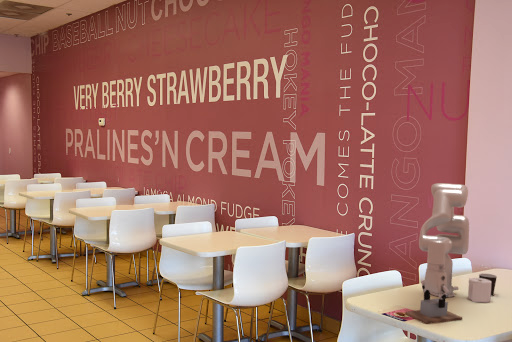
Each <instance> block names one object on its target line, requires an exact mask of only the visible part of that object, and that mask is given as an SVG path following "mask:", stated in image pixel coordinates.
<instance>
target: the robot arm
mask: <svg viewBox="0 0 512 342" xmlns="http://www.w3.org/2000/svg"><path fill="white" fill-rule="evenodd" d="M430 190H431V195H432V197H433V202H432V203H433V205H432V213H431V216H430V217H429V218H428V219H427V220H426V221H424V223H423V224H422V226H421V228H420V232H419V239H418V247H419V249H420V250H421V251H422V252H425V253H426V252H427V259H426V260H427V261H426V262H427V263H426V269H425V273H424V280H421V281H420V283H421V287H422V292H423V300H429V299H431V296H434V297H438V299H439V305H438V307H439V308H445V301H446V300H447V298H453V297H455V293H454V292H455V291H458V290H459V286H453V285H452V284H453V283H452V282H453V267H454V265H453V264H454V262H453V259H452V258H451V256H450V255H449V254H455V255H466V254H467V253H468V251H469V243H470V242H469V240H470V239H469V238H470V222H469V218H468V217H467V216H465V215H459V214H455V208H464V207H465V206H466V204H467V201H468V196H469V189H468V186H467V185H465V184H459V183H446V182H445V183H444V182H443V183H441V182H439V183H438V182H437V183H434V184H431V188H430ZM435 227H436V230H437V231H438V232H441V233H438V234H436V235H427V233H428V232H429V231H430V230H431V229H434V228H435ZM445 233H448V234H445ZM454 234H457V235H454Z"/></svg>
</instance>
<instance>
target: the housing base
mask: <svg viewBox="0 0 512 342" xmlns="http://www.w3.org/2000/svg"><path fill="white" fill-rule="evenodd" d="M404 313H405V315H406V316H408V317H410V318H412V319H414V320H417V321H419V322H421V323H422V324H425V325H431V324H439V323H448V322H456V321H463V316H460V315H458V314H456V313H453V312H451V311H448V310H447V316H438V317H427V316H425V315H423V314H420V309H419V310H410V311H408V310H407V311H404Z"/></svg>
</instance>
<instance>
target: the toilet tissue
mask: <svg viewBox="0 0 512 342" xmlns="http://www.w3.org/2000/svg"><path fill="white" fill-rule="evenodd" d="M491 283H492V282H491V281H490V280H487V279H482V278H479V277H469V278H468V286H467V287H468V291H467V299H468V300H470V301H472V302H473V303H474V302H475V303H490V302H491V300H492V299H491V297H492V296H491Z"/></svg>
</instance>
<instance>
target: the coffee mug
mask: <svg viewBox="0 0 512 342" xmlns="http://www.w3.org/2000/svg"><path fill="white" fill-rule="evenodd" d="M478 278H482V279H487V280H490V281H491V282H492V283H491V295H492V296H494V295H493V294H494V293H495V289H496V288H495V287H496V283H497V275H495V274H493V273H492V274H491V273H479V274H478Z"/></svg>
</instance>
